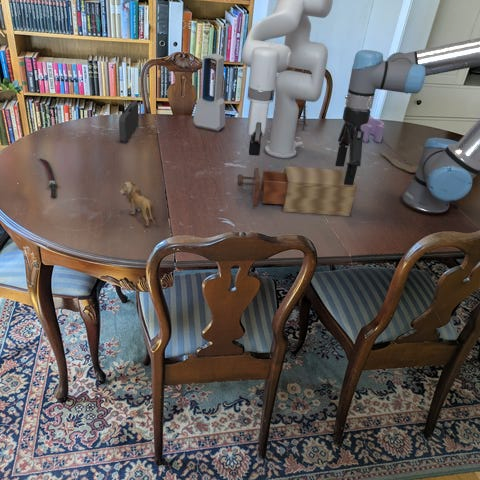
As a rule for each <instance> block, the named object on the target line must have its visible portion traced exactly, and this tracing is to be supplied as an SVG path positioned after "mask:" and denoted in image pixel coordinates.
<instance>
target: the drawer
mask: <svg viewBox="0 0 480 480" xmlns="http://www.w3.org/2000/svg"><path fill="white" fill-rule="evenodd" d="M244 180H252V182H244ZM287 183H288V182H287V178H286V174H285V172H284V171H275V170H263V171H262V178H261V179H260V170H259V167H254V170H253V176H243V174H241V173H239V174H237V186H238V187H243V186H252V187H251V195H252V206H258V200H259V194H260V197H261V203H262V204H269V205H270V204H271V205H281V206H283V205H284V202H285V196H286V190H287ZM260 185H261V186H260ZM259 192H260V193H259Z"/></svg>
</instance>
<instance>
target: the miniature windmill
mask: <svg viewBox="0 0 480 480" xmlns="http://www.w3.org/2000/svg"><path fill="white" fill-rule="evenodd" d="M294 71H296V72H302V71H304V72H303V73H307V74H309V70H304V69H298V68H294ZM297 100H298V99H295V101H296V102H297ZM306 102H307V101H304V100H303V105H302V104H297V105H298V107H303V108H299V111H302V115H298V118H302V120H299V119H298V120H297V122H300V123H302V131H305V126H306V124H307V122H306V121H307V120H306V119H307V116H306V115H307V114H306V109H307V106H306V105H307V104H306Z"/></svg>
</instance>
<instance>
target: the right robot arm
mask: <svg viewBox="0 0 480 480" xmlns="http://www.w3.org/2000/svg"><path fill="white" fill-rule="evenodd" d="M476 67H480V37H476V38H472V39H467V40H462V41H457V42H453V43H452V42H451V43H449V44H444V45H439V46H433V47H429V48H424V49H419V50H416V51H409V52H401V51H397V52H393V53H392V54H390V55H389V56H388V57H387V58H386V60H384V54H383V53H382V52H380V51H377V50H372V49H360V50H358V51H357V52H356V53H355V55H354V59H353V64H352V67H351V71H350V72H351V73H350V78H349V84H348V89H347V95H344V99H345V107H344V109H343V114H342V120H343V121H344V122H343V126H342V128H341V131H340V133H339V137H338V138H337V142H338V149H337V154H336V160H335V163H334V166H335V167H345V164H346V165H347V166H346V167H347V168H346V170H345V171H346V175H345V180H344V185H353V183H354V182H355V179H356V174H357V170H358V167H361V165H362V164H361V162H362V154H363V153H362V152H363V142H364V140H363V135H364V131H362V130H361V125H363V124H366V123H368V121H369V117H370V115H371V109H372V108H373V104H374V99H375V94H376V90H380V91H381V90H383V91H389V92H396V93H404V94H414V95H415V94H416V95H417V94H419V93H420V92H421V90H422V89H423V86H424V83H425V79H426V77H427V76H435V75H439V74H444V73H449V72H454V71H461V70H466V69H471V68H476ZM348 149H349V152H348ZM347 153H349V156H348V157H349V159H348V161H349V162H347V163H346V159H347ZM417 165H418V168H417V171H416V172H415V175H414V176H413V177H414V178H413V180H412V181H411V182H410V184H409V185H408V187H407V188H406V189H405V190H404V192H403V194H402V195H401V196H402V197H401V201H402V203H403V205H404V206H405V207H407V208H408V209H410V210H412V211H414V212H417V213H420V214H424V215H428V216H441V215H444V214H446V213H447V212H448V210H449V208H450V206H451V207H455V208H457V209H458V208H459V207H460V206H459V204H457V203H454V202H455V201H458V200H461V199H463V198H465V197H466V196H467V195H468V194H469V193H470V191H471V189H472V187H473V182H474V181H473V179H475V178H476V176H477V175H479V173H480V118H478V119H477V120H476V122H475V123H474V124H473V125H472V126H471V128H469V130H468V131H467V132H466V133H465V134H464V135H463V136H462V137H461V138H460V140H458V141H457V140H452V139H448V138H443V137H430V138H427V140H426V141H425V144H424V146H423V149H422V152H421V156H420V159H419V162H418V164H417Z"/></svg>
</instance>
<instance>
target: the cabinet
mask: <svg viewBox="0 0 480 480" xmlns="http://www.w3.org/2000/svg"><path fill="white" fill-rule="evenodd" d="M283 172H285V174H286V178H287V182H288V183H287V190H286V196H285V202H284V205H282V210H283V212H287V213H288V212H289V213H301V214H315V215H328V216H329V215H330V216H345V217H350V215H351V211H352V207H353V204H354V199H355V195H356V192H357V187H358V186H357V184H356V182H355V181H354V183H353V185H344V180H345V175H346V170H341V169H329V168H315V167H304V166H302V167H301V166H290V165H284V169H283Z"/></svg>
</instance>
